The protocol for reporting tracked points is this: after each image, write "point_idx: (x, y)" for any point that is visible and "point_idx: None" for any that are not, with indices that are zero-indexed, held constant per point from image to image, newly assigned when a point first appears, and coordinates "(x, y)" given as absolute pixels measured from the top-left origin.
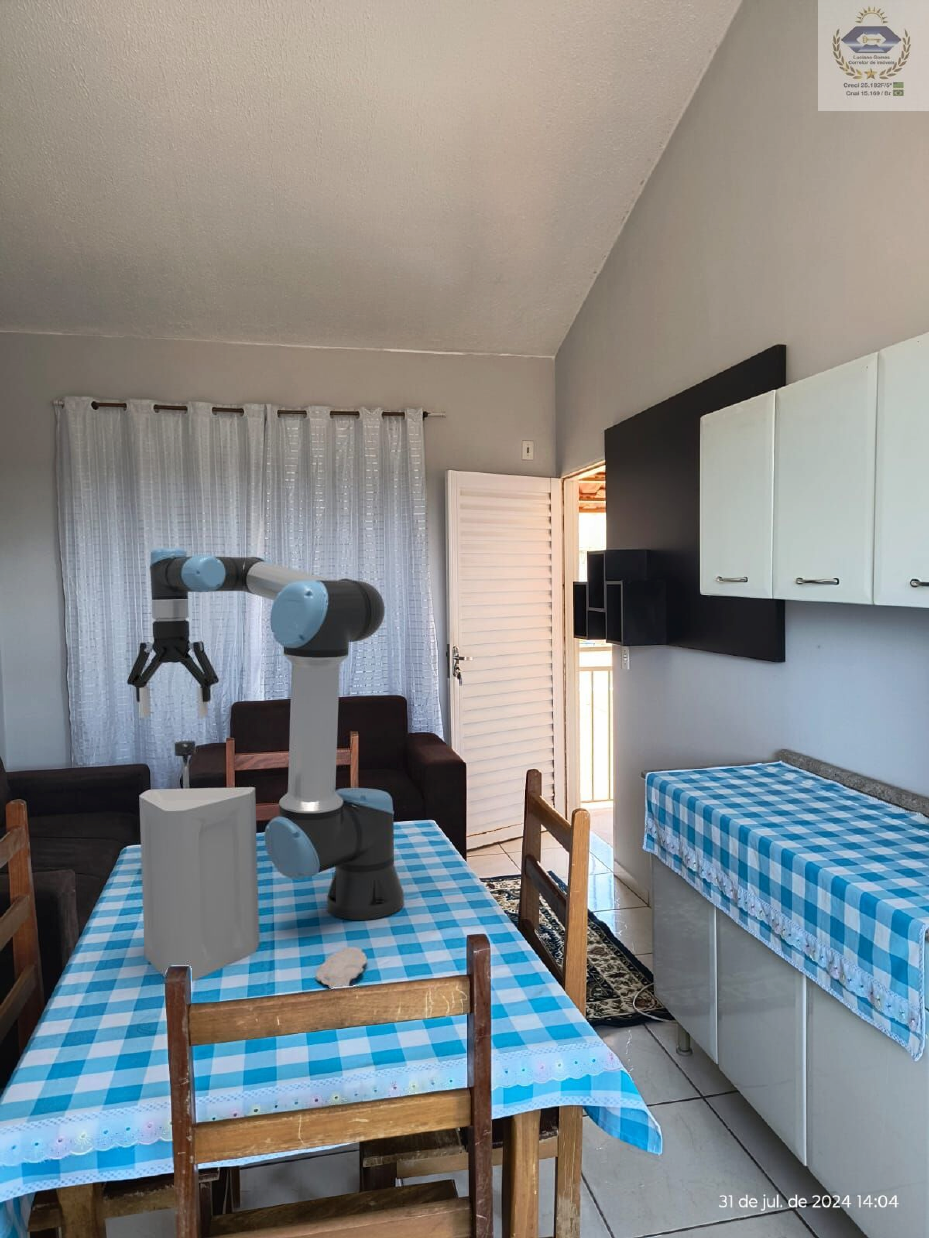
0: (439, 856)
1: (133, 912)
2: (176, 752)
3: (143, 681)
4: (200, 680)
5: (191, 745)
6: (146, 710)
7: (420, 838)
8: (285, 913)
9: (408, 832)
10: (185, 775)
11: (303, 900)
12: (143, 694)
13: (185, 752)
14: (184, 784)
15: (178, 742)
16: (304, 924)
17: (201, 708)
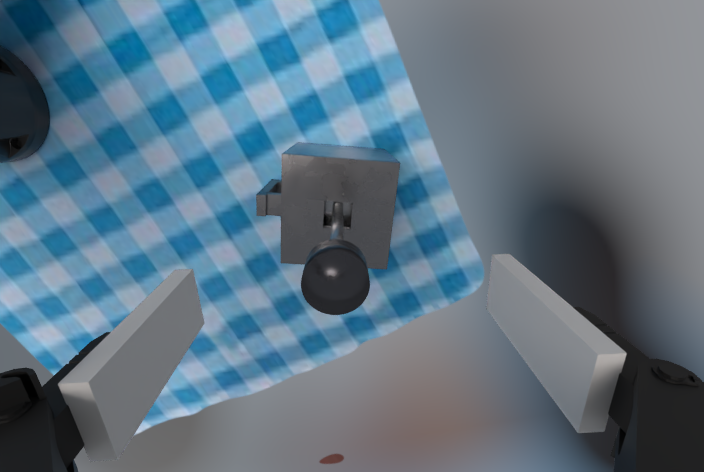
0: (8, 311)
1: (330, 12)
2: (349, 245)
3: (635, 409)
4: (4, 444)
5: (303, 271)
6: (502, 295)
7: None
8: (88, 49)
9: None
10: (333, 237)
11: (95, 107)
12: (562, 330)
13: (318, 247)
14: (337, 229)
15: (358, 282)
16: (30, 7)
17: (150, 294)
